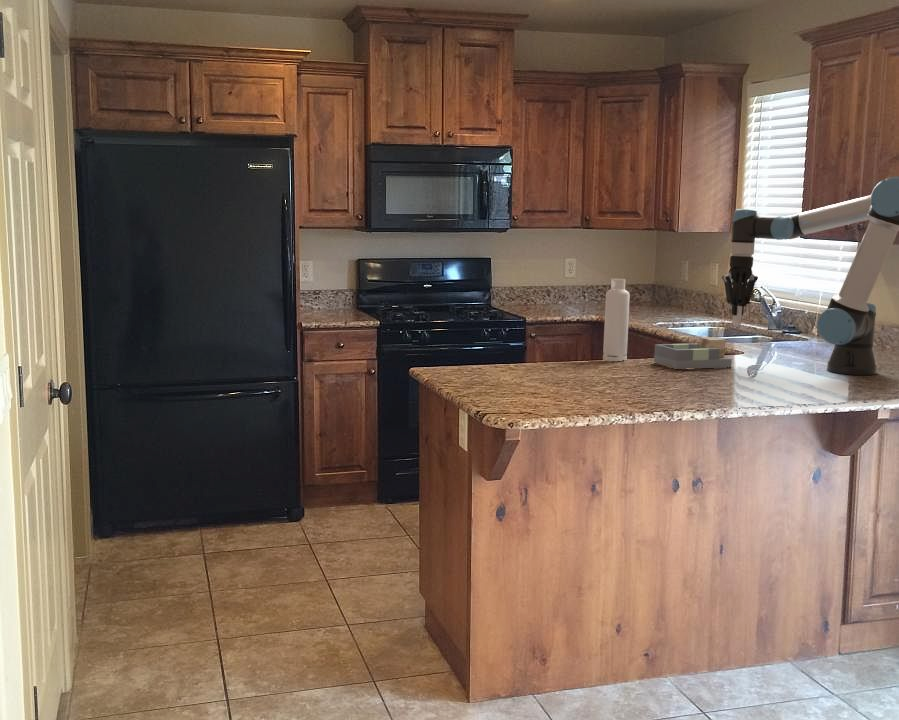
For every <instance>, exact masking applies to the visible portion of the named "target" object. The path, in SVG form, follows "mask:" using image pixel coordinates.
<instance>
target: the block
mask: <svg viewBox="0 0 899 720" xmlns="http://www.w3.org/2000/svg"><path fill="white" fill-rule="evenodd" d="M726 341H727V340H726V338H725V339H724V338H720V337H712V336H711V337H710V336H709V337H700V338H699V349H703V348H718V349H719V357H725V356H726V355H725V354H726V353H725V352H726Z"/></svg>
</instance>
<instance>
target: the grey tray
mask: <svg viewBox="0 0 899 720" xmlns="http://www.w3.org/2000/svg"><path fill="white" fill-rule="evenodd" d="M699 348H700V343H696V342H693V343H692V342H691V343H671V344H670V343H663V344H662V343H661V344H660V343H657V344H654V354H653V363H654V362H656V363H659V364H662V365H665V366H668V367H671V368H674V369H673V370H675V369H686V368H714V369H730V368H729V367H731V368H732V358H729V357H719V349H718V348H703V349H699ZM668 367H667V368H668ZM727 367H728V368H727ZM671 368H670V369H671Z"/></svg>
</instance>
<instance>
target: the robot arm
mask: <svg viewBox="0 0 899 720" xmlns="http://www.w3.org/2000/svg"><path fill="white" fill-rule="evenodd" d="M864 221H865V222H866V221H869V222H868V225H867V227H866V230H865V233H864V234H863V237H862V240H861V241H860V244H859V247H858V248H857V251H856V254H855V255H854V258H853V261H852V263H851V265H850V268H849V269H848V272H847V274H846V277H845V278H844V281H843V283H842V286H841V288H840V291H839V293H838V294H836V295H835V294H834V295H833V296H832V297H831V299H830V301H829V304H828V306H827V308H826V309H825V310H823V311H822V312H821V313H820V315H819V317H818V319H817V322H816V328H817V331H818V335H819V336H820V338H821V339H822V340H823V341H825V342H826V343H827V344H831V345H834V347H833V349H832V352H831V354H830V358H829V361H828V362H827V365H826V370H827V371H828V372H831V373H835V374H844V375H850V376H852V375H854V376H855V375H856V376H871V375H876V374H877V369H878V368H877V364H876V359H875V355H874V351H873V347H874V336H875V335H874V334H875V324H876V316H877V311H876V310H877V309H876V305H875V304H873V303H869V302H868V301H869V298H870V296H871V294H872V292H873V289H874V287H875V285H876V282H877V280H878V278H879V275H880V273H881V271H882V269H883V266H884V264H885V261H886V260H887V258H888V256H889V253H890V251H891V248H892V246H893V244H894V242H895V240H896V237H897V235H898V232H899V176H891V177H887V178H885V179H882V180H881V181H879V182H878V183H876V185H875V186H874V187H873V190H872V192H871V194H870V195H866V196H862V197H859V198H858V197H857V198H854V199H851V200H846V201H843V202H839V203H835V204H831V205H830V204H829V205H826V206H823V207H819V208H816V209H815V208H814V209H812V210H807V211H803V212H799V213H795V214H791V215H786V216H785V215H760V214H758V211H757V209H755V208H754V209H748V208H746V209H745V208H736V209H735V210H734V212H733V219H732V223H731V224H732V227H731V228H732V230H731V242H730V243H731V244H730V257H729V270H728V273H727V274H726V275H722V276H721V279H722V280H723V283H724V290H725V297H726V303H727V304H729V305H731V316H732V323H731V324H732V325H733V326H741V324H742V316H743V315H744V309H745V307H746V306H747V305H749V304H750V302H751V298H752V295H753V292H754V288H755V285H756V283H757V282H758V279H759V277H758V276H757V275H755V274H753V270H752V268H753V265H754V257H753V255H754V254H755V242H756V241H755V240H756V239H766V240H777V241H779V240H780V241H781V240H793V239H797V238H799V237H801V236H806V235H809V234H814V233H815V234H816V233H819V232H823V231H826V230H831V229H835V228H839V227H843V226H848V225H852V224H856V223H861V222H864Z"/></svg>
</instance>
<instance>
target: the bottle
mask: <svg viewBox="0 0 899 720" xmlns="http://www.w3.org/2000/svg"><path fill="white" fill-rule="evenodd" d="M610 283H611V284H610V288H609V289H608V290H607V291H606V293H605V302H604V303H605V307H604V309H605V310H604V326H603V327H604V329H603V346H602V347H603V349H602V350H603V351H602V352H603V353H602V361H605V362H612V361H622V360H627V359H628V357H627V353H628V339H629V337H628V335H629V318H630V317H629V316H630V299H631V297H630V296H631V295H630V292H629V291H628V290H626V278H611V280H610ZM627 361H628V360H627Z"/></svg>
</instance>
